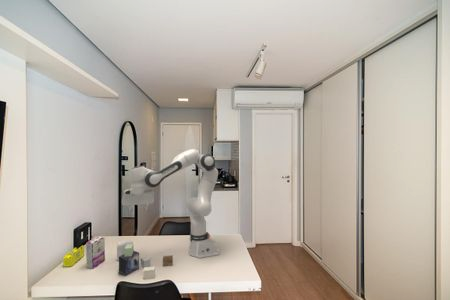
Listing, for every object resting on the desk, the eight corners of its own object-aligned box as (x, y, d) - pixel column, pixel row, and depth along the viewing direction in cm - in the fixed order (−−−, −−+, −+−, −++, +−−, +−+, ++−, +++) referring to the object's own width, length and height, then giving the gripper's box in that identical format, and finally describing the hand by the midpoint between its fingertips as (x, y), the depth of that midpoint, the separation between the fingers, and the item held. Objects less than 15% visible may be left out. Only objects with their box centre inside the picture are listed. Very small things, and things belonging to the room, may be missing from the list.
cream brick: (144, 275, 139) (144, 267, 139) (154, 274, 141) (154, 266, 141) (143, 279, 136) (143, 270, 135) (154, 278, 137) (154, 269, 137)
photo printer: (132, 255, 166) (132, 238, 165) (133, 257, 162) (133, 240, 162) (116, 259, 160) (116, 241, 160) (117, 261, 156) (117, 243, 156)
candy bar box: (98, 260, 159) (98, 235, 159) (105, 260, 158) (104, 236, 158) (85, 268, 148) (85, 242, 148) (92, 269, 147) (92, 243, 147)
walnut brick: (163, 263, 154) (163, 256, 154) (172, 262, 155) (172, 255, 155) (162, 266, 150) (162, 258, 150) (172, 265, 151) (172, 258, 151)
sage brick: (133, 251, 148) (133, 244, 148) (131, 256, 142) (131, 248, 142) (126, 252, 147) (126, 244, 147) (124, 256, 141) (124, 248, 141)
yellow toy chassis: (72, 267, 149) (72, 254, 149) (62, 267, 149) (62, 254, 149) (84, 256, 165) (84, 244, 165) (76, 256, 165) (76, 244, 165)
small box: (125, 276, 138) (125, 259, 138) (117, 273, 141) (117, 256, 141) (139, 268, 147) (139, 252, 147) (132, 266, 151) (132, 249, 151)
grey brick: (146, 263, 155) (146, 255, 155) (150, 266, 150) (150, 258, 150) (140, 265, 152) (140, 257, 152) (144, 268, 147) (144, 260, 147)
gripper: (154, 188, 162) (155, 208, 162) (123, 190, 158) (123, 210, 158) (153, 190, 156) (154, 211, 156) (120, 192, 152) (121, 213, 152)
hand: (138, 211), depth 157 cm, fingers open, 8 cm apart
